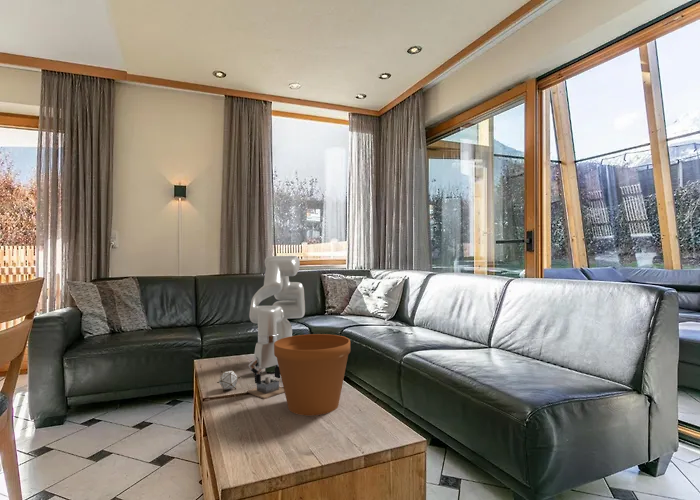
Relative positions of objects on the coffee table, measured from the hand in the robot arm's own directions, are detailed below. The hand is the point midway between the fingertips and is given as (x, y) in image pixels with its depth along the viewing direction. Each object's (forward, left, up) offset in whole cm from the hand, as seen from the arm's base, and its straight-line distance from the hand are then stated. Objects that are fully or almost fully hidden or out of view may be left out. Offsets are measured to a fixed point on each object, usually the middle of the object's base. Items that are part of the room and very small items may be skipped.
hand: (267, 380), depth 161 cm
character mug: (-18, -22, -5) cm, 28 cm away
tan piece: (0, 0, -4) cm, 4 cm away
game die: (+9, -15, -5) cm, 18 cm away
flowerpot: (-2, +26, -5) cm, 26 cm away
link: (0, 0, -4) cm, 4 cm away
